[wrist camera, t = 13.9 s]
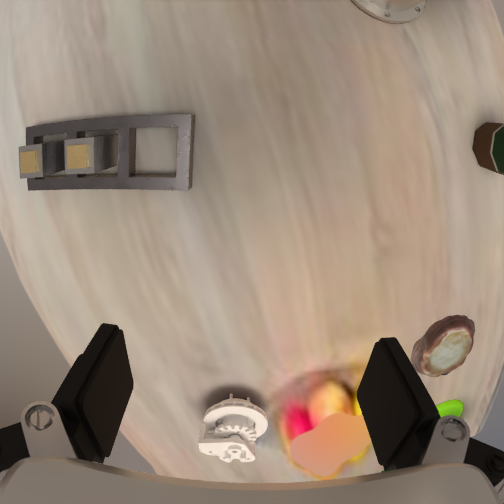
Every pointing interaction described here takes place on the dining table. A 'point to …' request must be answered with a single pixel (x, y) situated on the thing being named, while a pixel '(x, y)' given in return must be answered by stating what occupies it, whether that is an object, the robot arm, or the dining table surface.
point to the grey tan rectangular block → (42, 159)
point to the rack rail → (121, 153)
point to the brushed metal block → (91, 154)
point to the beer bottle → (490, 147)
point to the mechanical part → (232, 429)
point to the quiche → (443, 346)
